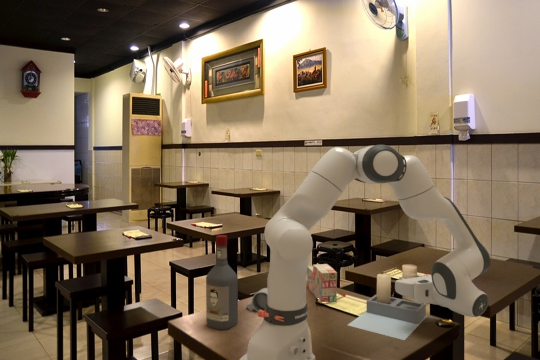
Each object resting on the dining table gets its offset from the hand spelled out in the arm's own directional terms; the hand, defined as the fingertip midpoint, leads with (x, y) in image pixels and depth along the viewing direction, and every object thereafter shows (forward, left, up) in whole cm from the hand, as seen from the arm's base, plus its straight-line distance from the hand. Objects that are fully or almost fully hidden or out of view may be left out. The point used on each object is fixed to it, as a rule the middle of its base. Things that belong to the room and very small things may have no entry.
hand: (407, 278), depth 144 cm
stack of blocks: (+5, +37, -15) cm, 40 cm away
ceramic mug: (-23, +47, -15) cm, 54 cm away
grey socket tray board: (-8, +4, -14) cm, 17 cm away
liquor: (-42, +49, -15) cm, 66 cm away
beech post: (0, -1, -5) cm, 6 cm away
